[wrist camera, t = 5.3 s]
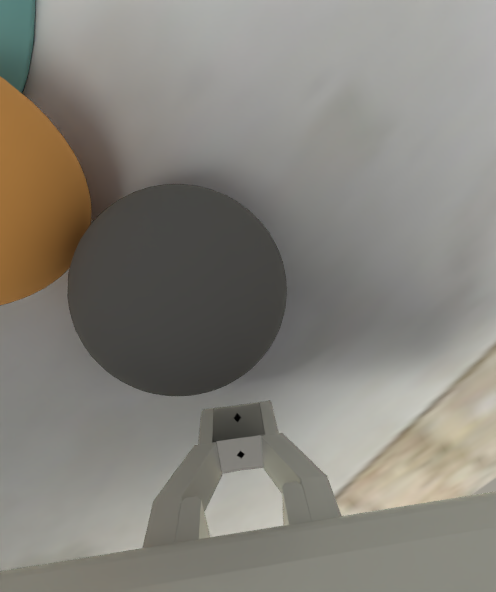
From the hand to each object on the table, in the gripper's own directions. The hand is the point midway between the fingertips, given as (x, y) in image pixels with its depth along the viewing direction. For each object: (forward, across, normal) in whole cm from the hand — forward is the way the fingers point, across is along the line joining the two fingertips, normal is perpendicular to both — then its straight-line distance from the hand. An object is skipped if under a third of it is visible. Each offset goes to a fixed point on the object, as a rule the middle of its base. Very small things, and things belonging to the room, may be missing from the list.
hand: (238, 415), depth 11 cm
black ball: (-1, +1, -6) cm, 7 cm away
